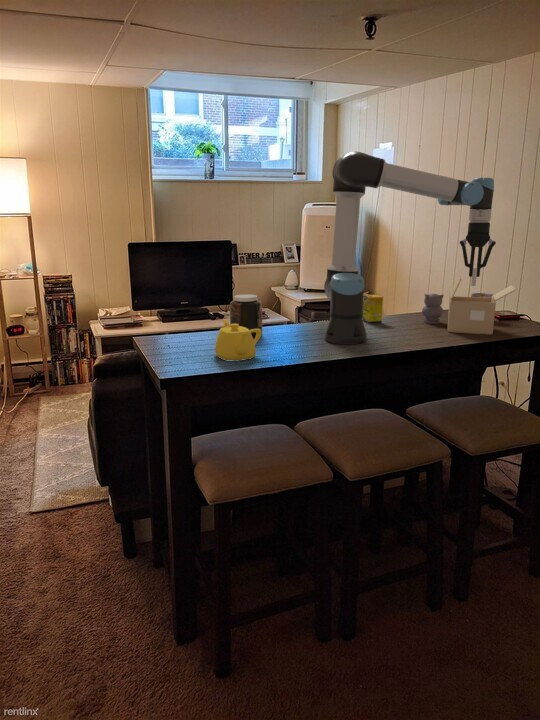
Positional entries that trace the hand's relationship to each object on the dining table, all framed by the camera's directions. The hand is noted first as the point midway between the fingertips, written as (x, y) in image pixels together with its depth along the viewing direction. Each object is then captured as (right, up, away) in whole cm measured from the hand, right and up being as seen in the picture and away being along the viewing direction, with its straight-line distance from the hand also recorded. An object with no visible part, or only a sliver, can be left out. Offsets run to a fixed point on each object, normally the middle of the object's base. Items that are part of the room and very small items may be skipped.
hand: (473, 285), depth 210 cm
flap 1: (-6, -1, +2) cm, 6 cm away
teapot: (-87, -27, -30) cm, 96 cm away
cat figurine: (-10, -13, +19) cm, 25 cm away
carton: (0, -17, +5) cm, 17 cm away
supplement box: (-35, -13, +21) cm, 42 cm away
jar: (-86, -19, -2) cm, 88 cm away
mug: (+11, -11, +25) cm, 29 cm away
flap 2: (+10, -3, -2) cm, 11 cm away
